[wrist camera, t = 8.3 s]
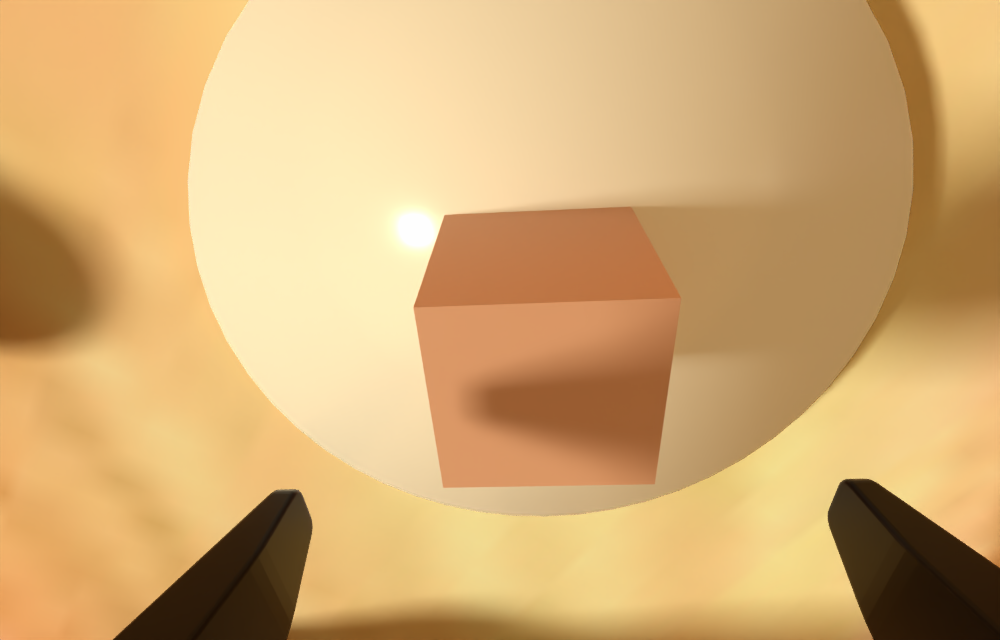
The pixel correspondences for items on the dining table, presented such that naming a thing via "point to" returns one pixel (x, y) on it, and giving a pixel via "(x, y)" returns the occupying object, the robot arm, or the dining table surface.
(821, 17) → the plate
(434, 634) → the dining table surface
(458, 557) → the dining table surface
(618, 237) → the block
